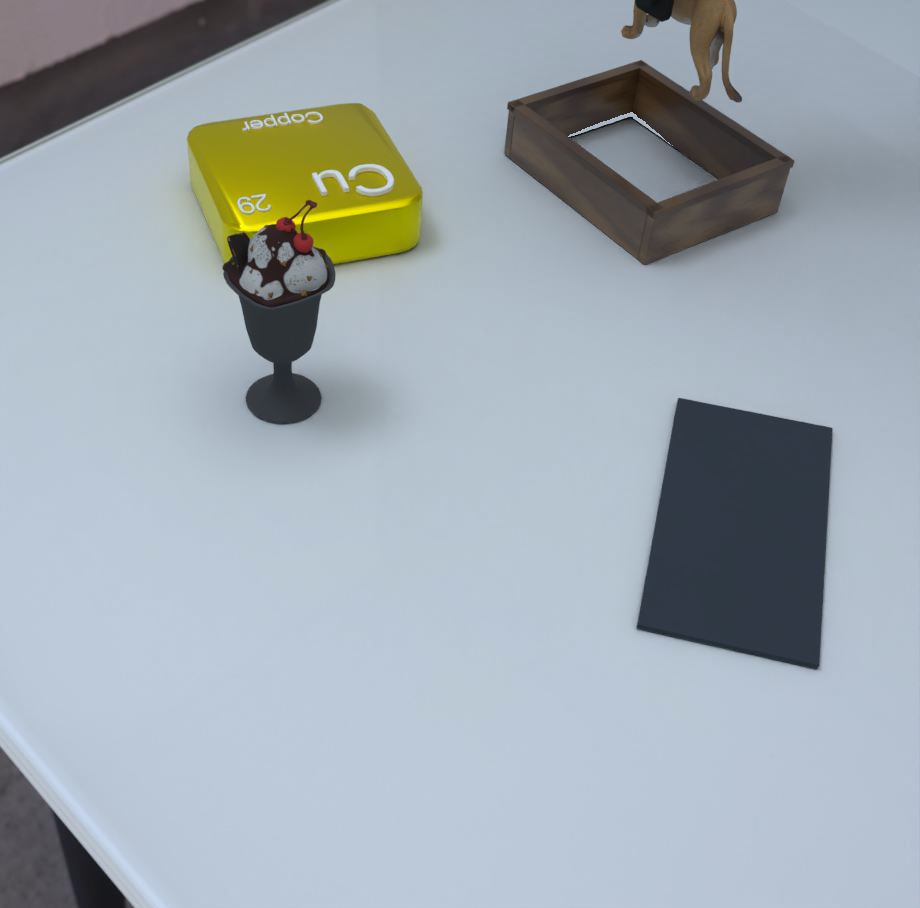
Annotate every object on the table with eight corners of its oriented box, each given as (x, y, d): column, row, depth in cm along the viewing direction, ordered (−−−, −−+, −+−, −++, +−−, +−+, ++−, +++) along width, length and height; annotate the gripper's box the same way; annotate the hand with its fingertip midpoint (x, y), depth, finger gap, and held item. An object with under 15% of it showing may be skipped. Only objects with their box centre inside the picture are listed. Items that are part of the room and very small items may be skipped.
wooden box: (631, 110, 112) (641, 59, 109) (779, 212, 102) (795, 160, 99) (501, 154, 107) (507, 101, 103) (644, 266, 97) (655, 212, 93)
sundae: (354, 408, 85) (359, 210, 74) (266, 446, 83) (256, 247, 72) (301, 353, 89) (297, 156, 78) (214, 388, 86) (197, 189, 75)
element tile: (366, 146, 107) (367, 91, 103) (428, 250, 97) (431, 194, 94) (185, 173, 103) (180, 118, 100) (231, 284, 94) (227, 227, 90)
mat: (677, 401, 87) (678, 397, 86) (831, 432, 85) (832, 427, 85) (636, 628, 74) (637, 624, 73) (817, 669, 72) (819, 665, 72)
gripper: (668, -247, 75) (622, 56, 88) (875, -294, 81) (803, -4, 95) (585, -282, 79) (554, 12, 93) (788, -323, 85) (731, -42, 99)
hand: (680, 1), depth 93 cm, fingers closed on lion figurine, 4 cm apart
